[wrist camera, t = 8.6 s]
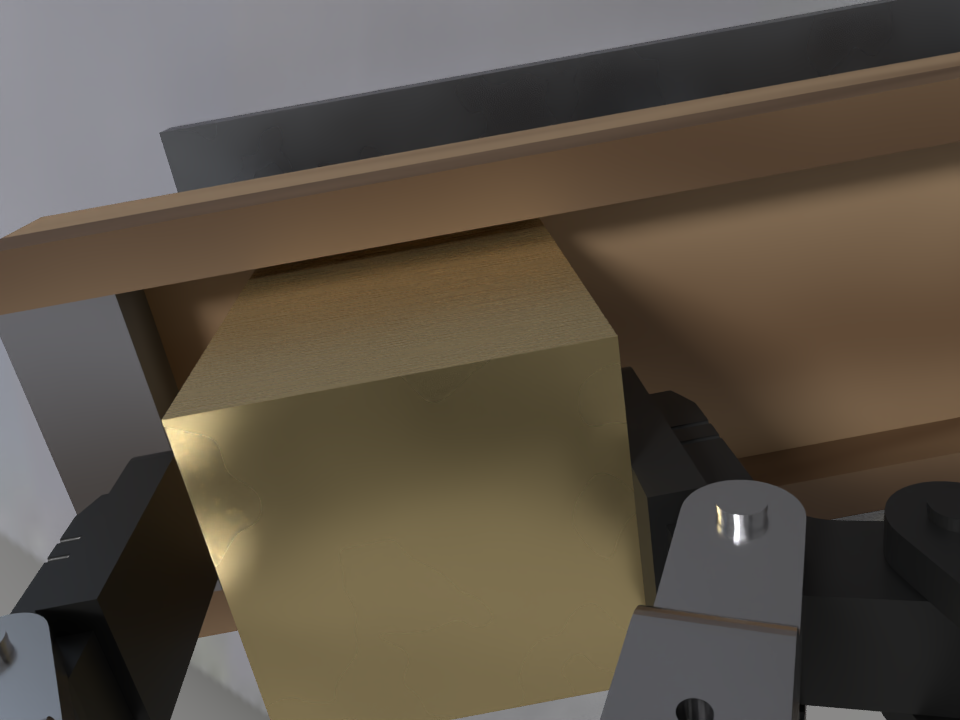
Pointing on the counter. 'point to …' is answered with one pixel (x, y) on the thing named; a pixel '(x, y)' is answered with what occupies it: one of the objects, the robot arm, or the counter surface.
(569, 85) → the pivot stand
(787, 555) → the robot arm
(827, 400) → the seesaw beam
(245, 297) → the brass block
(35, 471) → the counter surface
